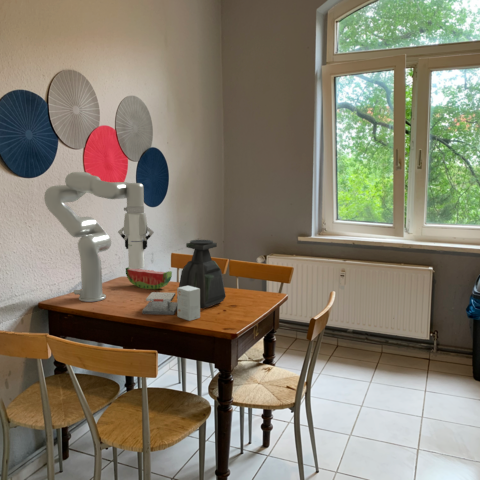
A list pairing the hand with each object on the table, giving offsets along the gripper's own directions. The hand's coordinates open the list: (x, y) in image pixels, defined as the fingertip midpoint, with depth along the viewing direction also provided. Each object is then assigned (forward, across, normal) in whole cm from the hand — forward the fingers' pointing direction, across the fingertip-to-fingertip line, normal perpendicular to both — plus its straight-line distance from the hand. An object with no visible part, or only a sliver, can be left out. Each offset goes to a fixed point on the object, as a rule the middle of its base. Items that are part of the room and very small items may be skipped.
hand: (136, 248), depth 211 cm
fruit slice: (+27, -2, +31) cm, 41 cm away
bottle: (+27, +30, +4) cm, 40 cm away
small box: (+27, +27, -17) cm, 41 cm away
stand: (+27, +13, -7) cm, 30 cm away
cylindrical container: (+9, 0, 0) cm, 9 cm away
